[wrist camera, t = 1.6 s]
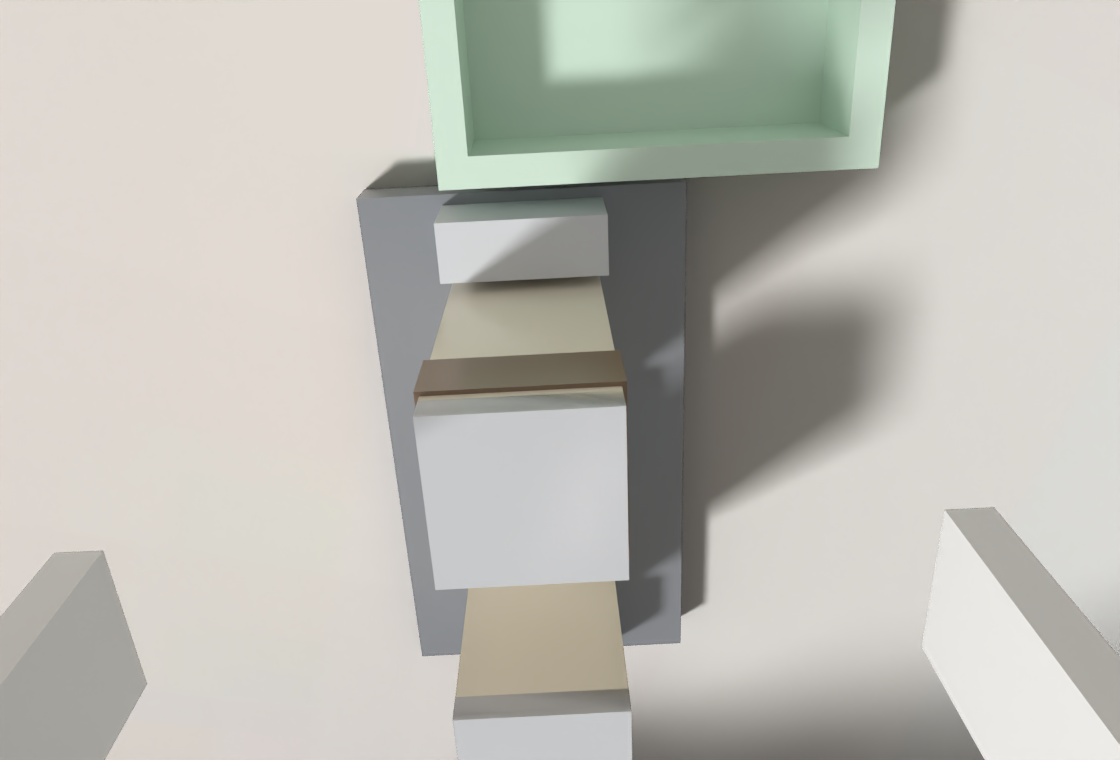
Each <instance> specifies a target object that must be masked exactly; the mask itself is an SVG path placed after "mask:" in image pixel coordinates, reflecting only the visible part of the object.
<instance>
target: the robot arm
mask: <svg viewBox="0 0 1120 760" xmlns="http://www.w3.org/2000/svg"><path fill="white" fill-rule="evenodd" d="M922 649H923V650H924V652H925V654H926V656H927V658H928V659H929V661H930V663H931V665H932V667H933V668H934V670H935V672H936V674H937V675H938V677H939V679H940V681H941V683H942V684H943V686H944V688H945V690H946V692H947V693H948V695H949V697H950V699H951V701H952V702H953V704H954V706H955V708H956V709H957V711H958V713H959V715H960V717H961V718H962V720H963V722H964V724H965V726H966V727H967V729H968V731H969V733H970V735H971V736H972V738H973V740H974V742H975V743H976V745H977V747H978V749H979V751H980V752H981V754H982V756H983V758H984V760H1120V657H1119V656H1118V654H1117V653H1116V652H1115V651H1114V650H1113V648H1112V647H1111V646H1110V645H1109V644H1108V643H1107V641H1106V640H1105V639H1104V638H1103V637H1102V635H1101V634H1100V633H1099V632H1098V631H1097V629H1096V628H1095V627H1094V626H1093V625H1092V623H1091V622H1090V621H1089V620H1088V619H1087V617H1086V616H1085V615H1084V614H1083V613H1082V612H1081V610H1080V609H1079V608H1078V607H1077V606H1076V604H1075V603H1074V602H1073V601H1072V600H1071V598H1070V597H1069V596H1068V595H1067V594H1066V592H1065V591H1064V590H1063V589H1062V588H1061V587H1060V585H1059V584H1058V583H1057V582H1056V581H1055V579H1054V578H1053V577H1052V576H1051V575H1050V573H1049V572H1048V571H1047V570H1046V569H1045V567H1044V566H1043V565H1042V564H1041V563H1040V561H1039V560H1038V559H1037V558H1036V557H1035V556H1034V554H1033V553H1032V552H1031V551H1030V550H1029V548H1028V547H1027V546H1026V545H1025V544H1024V542H1023V541H1022V540H1021V539H1020V538H1019V536H1018V535H1017V534H1016V533H1015V532H1014V530H1013V529H1012V528H1011V527H1010V526H1009V525H1008V523H1007V522H1006V521H1005V520H1004V519H1003V517H1002V516H1001V515H1000V514H999V513H998V511H997V510H996V509H995V508H994V507H990V508H970V509H949V510H945V511H944V517H943V523H942V529H941V534H940V540H939V546H938V552H937V558H936V564H935V570H934V576H933V582H932V588H931V593H930V599H929V605H928V611H927V617H926V623H925V629H924V635H923V641H922ZM146 685H147V682H146V679H145V676H144V673H143V670H142V667H141V664H140V661H139V658H138V655H137V652H136V649H135V646H134V643H133V640H132V637H131V634H130V631H129V627H128V624H127V621H126V618H125V615H124V612H123V609H122V606H121V603H120V600H119V597H118V594H117V591H116V588H115V585H114V582H113V579H112V576H111V573H110V570H109V567H108V564H107V561H106V558H105V555H104V552H103V551H83V552H62V553H54V554H53V555H52V556H51V557H50V558H49V560H48V561H47V562H46V563H45V564H44V566H43V567H42V568H41V569H40V570H39V572H38V573H37V574H36V575H35V576H34V577H33V579H32V580H31V581H30V582H29V583H28V585H27V586H26V587H25V588H24V589H23V591H22V592H21V593H20V594H19V595H18V597H17V598H16V599H15V600H14V601H13V602H12V604H11V605H10V606H9V607H8V608H7V610H6V611H5V612H4V613H3V614H2V616H1V617H0V760H105V758H106V757H107V755H108V753H109V751H110V749H111V748H112V746H113V744H114V742H115V741H116V739H117V737H118V735H119V733H120V732H121V730H122V728H123V726H124V724H125V723H126V721H127V719H128V717H129V715H130V714H131V712H132V710H133V708H134V706H135V705H136V703H137V701H138V699H139V697H140V696H141V694H142V692H143V690H144V688H145V687H146Z"/></svg>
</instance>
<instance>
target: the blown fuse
mask: <svg viewBox="0 0 1120 760" xmlns="http://www.w3.org/2000/svg"><path fill="white" fill-rule="evenodd" d="M413 394H414V402H415V411H414V415H413V422H414V430H415V438H416V445H417V453H418V460H419V468H420V476H421V483H422V491H423V499H424V506H425V514H426V522H427V529H428V537H429V544H430V552H431V560H432V567H433V575H434V583H435V590H446V589H465V588H485V587H504V586H524V585H544V584H563V583H583V582H602V581H622V580H629V558H630V532H629V471H628V410H627V379H626V374H625V370H624V365H623V361H622V356H621V351H620V350H615V349H614V344H613V339H612V335H611V330H610V325H609V320H608V315H607V310H606V305H605V300H604V295H603V291H602V286H601V281H600V276H588V277H568V278H549V279H529V280H510V281H490V282H471V283H452V286H451V290H450V293H449V297H448V300H447V303H446V307H445V310H444V313H443V317H442V320H441V324H440V327H439V330H438V334H437V337H436V340H435V344H434V347H433V351H432V354H431V357H430V360H423V363H422V366H421V369H420V372H419V375H418V379H417V382H416V385H415V388H414V391H413Z"/></svg>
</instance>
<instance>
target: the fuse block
mask: <svg viewBox="0 0 1120 760" xmlns="http://www.w3.org/2000/svg"><path fill="white" fill-rule="evenodd" d="M686 186H687V182H686V180H685V179H684V178H676V179H656V180H637V181H617V182H598V183H578V184H559V185H539V186H520V187H501V188H481V189H462V190H442V191H439V189H438V186H421V187H402V188H382V189H364V191H363V192H362V193H361V194H360V195H359V196H358V197H357V199H356V200H357V207H358V214H359V221H360V228H361V235H362V241H363V248H364V255H365V262H366V269H367V276H368V283H369V290H370V297H371V304H372V311H373V318H374V325H375V332H376V338H377V345H378V352H379V359H380V366H381V373H382V380H383V387H384V394H385V401H386V408H387V415H388V422H389V429H390V436H391V442H392V449H393V456H394V463H395V470H396V477H397V484H398V491H399V498H400V505H401V512H402V519H403V526H404V533H405V539H406V546H407V553H408V560H409V567H410V574H411V581H412V588H413V595H414V602H415V609H416V616H417V623H418V630H419V637H420V643H421V650H422V656H435V655H455V654H461V646H462V637H463V629H464V621H465V612H466V604H467V595H468V588H465V589H446V590H435V583H434V575H433V567H432V560H431V552H430V544H429V537H428V529H427V522H426V514H425V506H424V499H423V491H422V483H421V476H420V468H419V460H418V453H417V445H416V438H415V430H414V422H413V415H414V411H415V402H414V394H413V391H414V388H415V385H416V382H417V379H418V375H419V372H420V369H421V366H422V363H423V360H430V357H431V354H432V351H433V347H434V344H435V340H436V337H437V334H438V330H439V327H440V324H441V320H442V317H443V313H444V310H445V307H446V303H447V300H448V297H449V293H450V290H451V286H452V283H471V282H490V281H510V280H529V279H549V278H568V277H588V276H600V281H601V286H602V291H603V295H604V300H605V305H606V310H607V315H608V320H609V325H610V330H611V335H612V339H613V344H614V349H615V350H620V351H621V356H622V361H623V365H624V370H625V374H626V379H627V410H628V471H629V532H630V558H629V580H622V581H615V585H616V593H617V601H618V609H619V617H620V625H621V633H622V641H623V646H631V645H651V644H670V643H680V636H681V561H682V486H683V411H684V336H685V261H686Z"/></svg>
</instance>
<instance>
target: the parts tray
mask: <svg viewBox="0 0 1120 760" xmlns="http://www.w3.org/2000/svg"><path fill="white" fill-rule="evenodd" d="M895 3H896V0H419V7H420V17H421V26H422V36H423V45H424V55H425V64H426V74H427V83H428V93H429V103H430V112H431V122H432V131H433V141H434V150H435V160H436V170H437V179H438V189H439V191H442V190H462V189H481V188H501V187H520V186H539V185H559V184H578V183H598V182H617V181H637V180H656V179H676V178H695V177H715V176H734V175H754V174H773V173H793V172H812V171H832V170H851V169H871V168H878V167H879V157H880V148H881V138H882V128H883V119H884V109H885V99H886V90H887V80H888V70H889V61H890V51H891V41H892V32H893V22H894V12H895Z"/></svg>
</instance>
